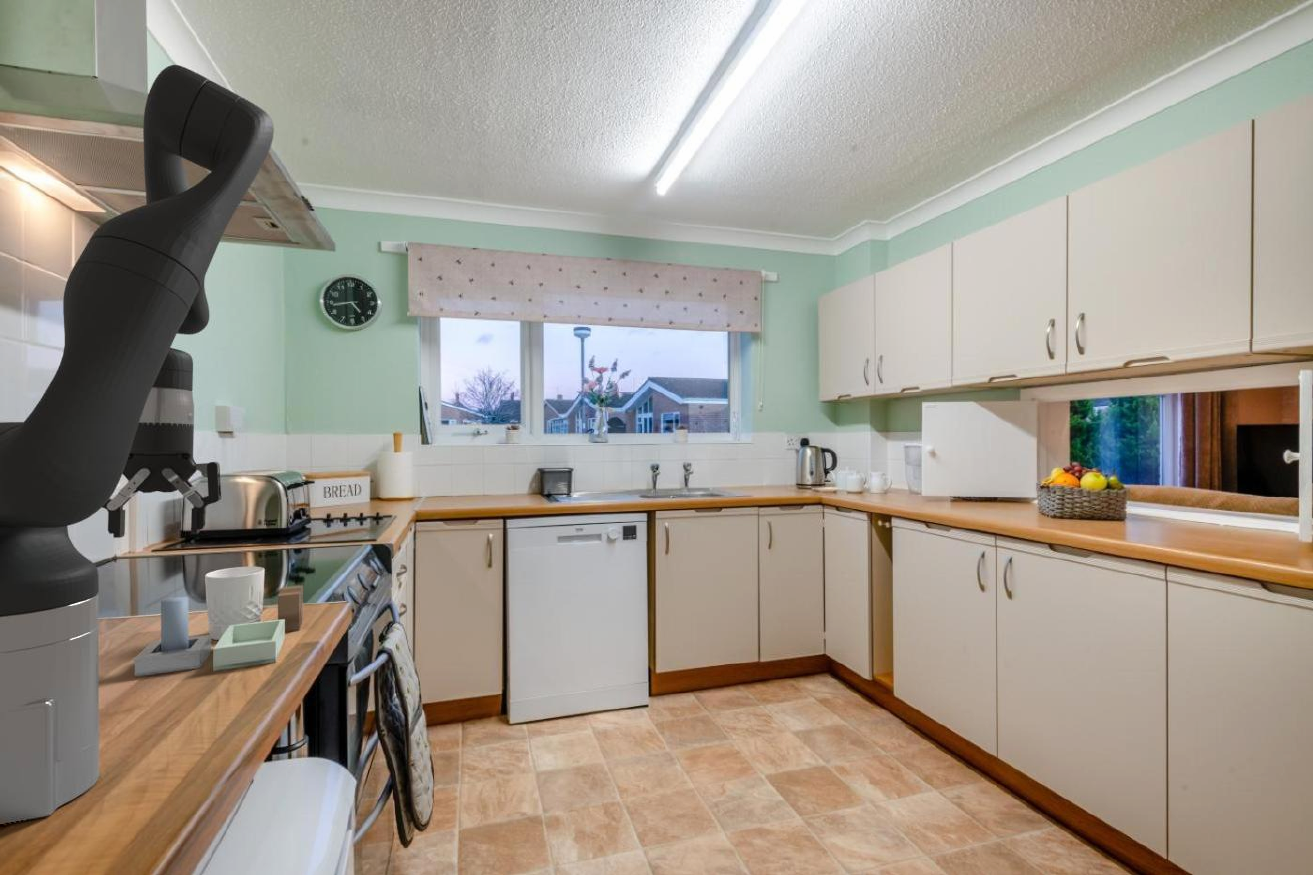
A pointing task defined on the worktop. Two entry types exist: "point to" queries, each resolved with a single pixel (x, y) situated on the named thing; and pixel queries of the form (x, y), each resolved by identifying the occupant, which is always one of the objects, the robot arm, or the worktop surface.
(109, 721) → the worktop surface
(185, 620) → the slate-blue dowel
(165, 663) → the gray tray
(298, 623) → the walnut block
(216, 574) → the white cup
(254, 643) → the pale green tray
